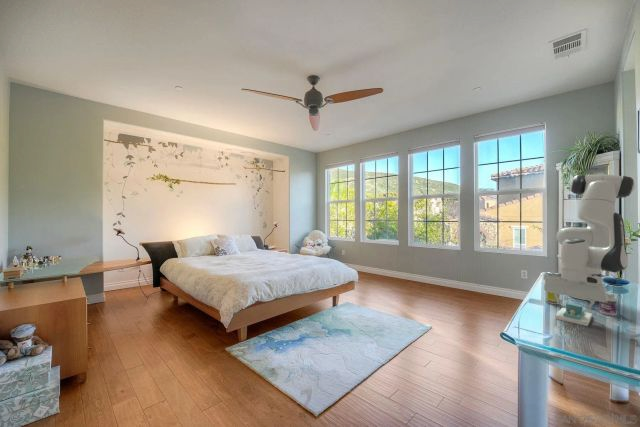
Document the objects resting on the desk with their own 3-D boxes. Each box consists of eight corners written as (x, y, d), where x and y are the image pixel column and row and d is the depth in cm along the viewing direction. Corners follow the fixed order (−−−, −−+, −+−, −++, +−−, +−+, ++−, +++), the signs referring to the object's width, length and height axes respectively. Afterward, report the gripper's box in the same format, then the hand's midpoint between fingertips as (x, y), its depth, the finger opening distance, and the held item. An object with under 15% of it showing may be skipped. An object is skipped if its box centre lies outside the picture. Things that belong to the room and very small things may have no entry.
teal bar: (579, 319, 112) (579, 309, 112) (563, 316, 116) (563, 306, 116) (584, 312, 121) (584, 303, 121) (569, 309, 125) (569, 300, 125)
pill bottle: (599, 313, 124) (600, 292, 124) (598, 310, 128) (599, 290, 128) (617, 316, 120) (617, 295, 120) (615, 313, 124) (615, 293, 124)
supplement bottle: (562, 305, 135) (562, 285, 135) (549, 304, 136) (550, 285, 136) (555, 301, 141) (555, 283, 141) (543, 300, 142) (543, 282, 142)
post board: (562, 310, 127) (562, 300, 127) (592, 317, 119) (592, 305, 119) (555, 318, 117) (555, 307, 117) (587, 326, 109) (587, 314, 109)
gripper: (542, 272, 125) (542, 301, 125) (606, 281, 109) (606, 315, 109) (545, 270, 128) (545, 299, 129) (608, 278, 113) (607, 311, 113)
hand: (573, 306), depth 118 cm, fingers open, 8 cm apart
